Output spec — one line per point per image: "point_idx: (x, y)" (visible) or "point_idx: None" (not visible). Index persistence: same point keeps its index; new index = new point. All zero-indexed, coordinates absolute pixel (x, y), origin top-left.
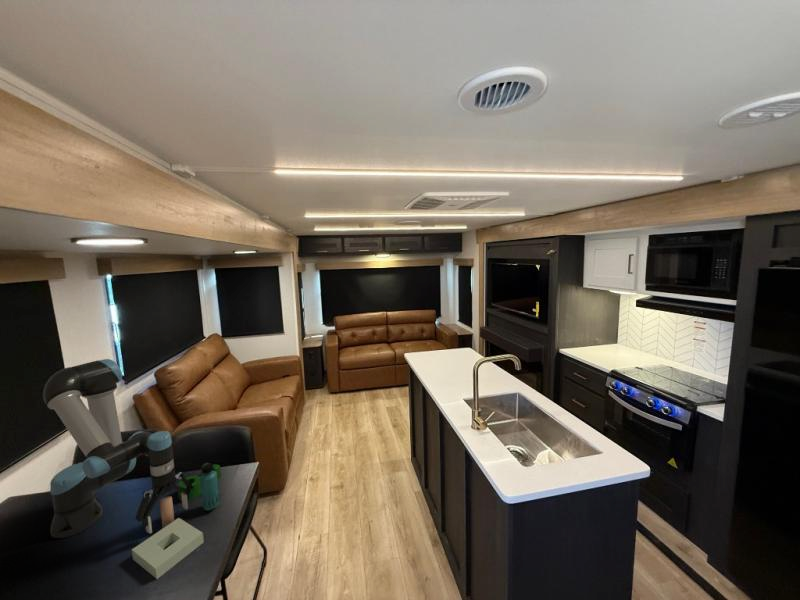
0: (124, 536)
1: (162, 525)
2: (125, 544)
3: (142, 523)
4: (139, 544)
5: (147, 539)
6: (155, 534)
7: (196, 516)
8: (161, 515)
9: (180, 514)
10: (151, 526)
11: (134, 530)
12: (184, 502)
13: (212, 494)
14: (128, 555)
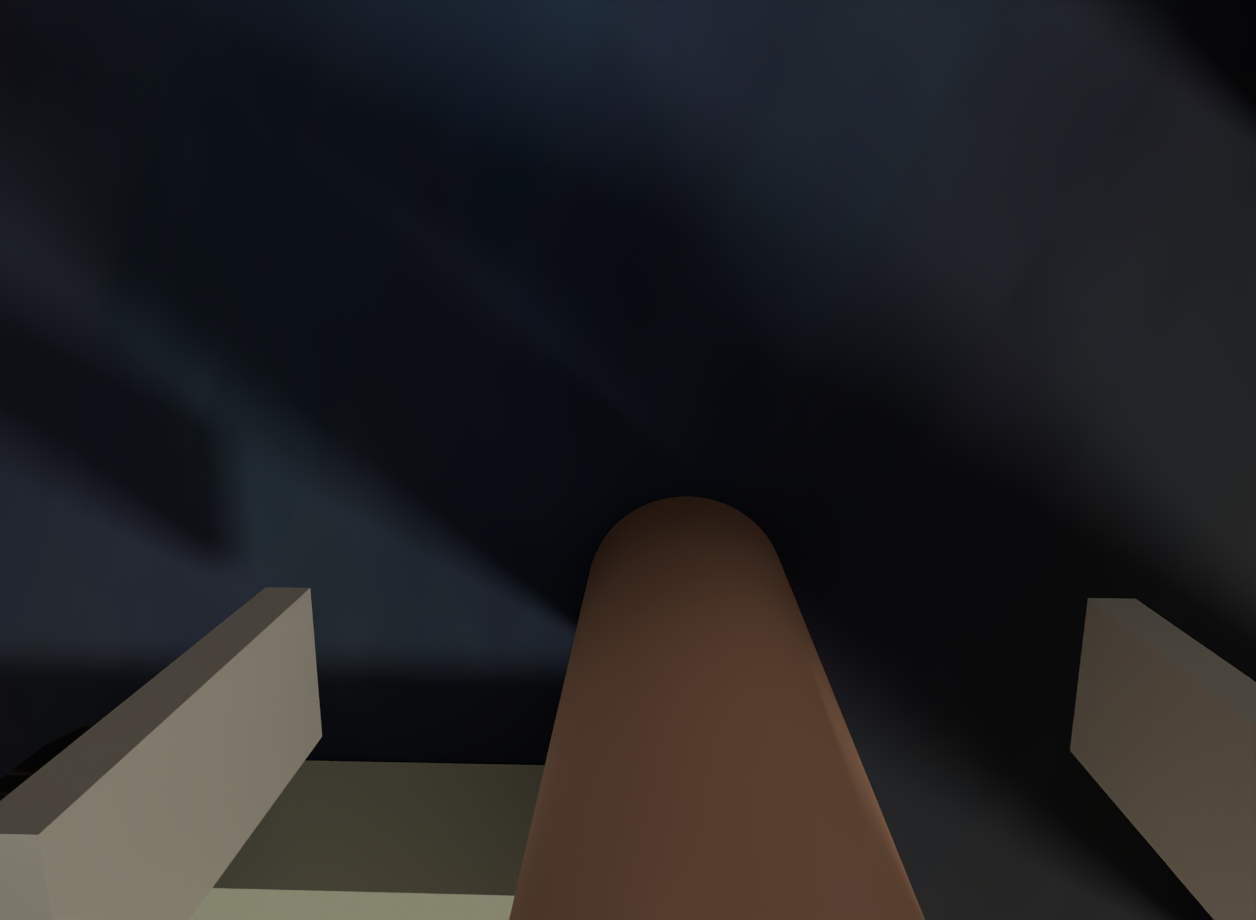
0: (115, 33)
1: (583, 601)
2: (65, 294)
3: (5, 777)
4: None
5: None
6: (303, 918)
7: (1069, 809)
8: (550, 743)
9: (982, 478)
10: (254, 828)
11: (290, 44)
12: (1177, 803)
13: None
14: (25, 609)
